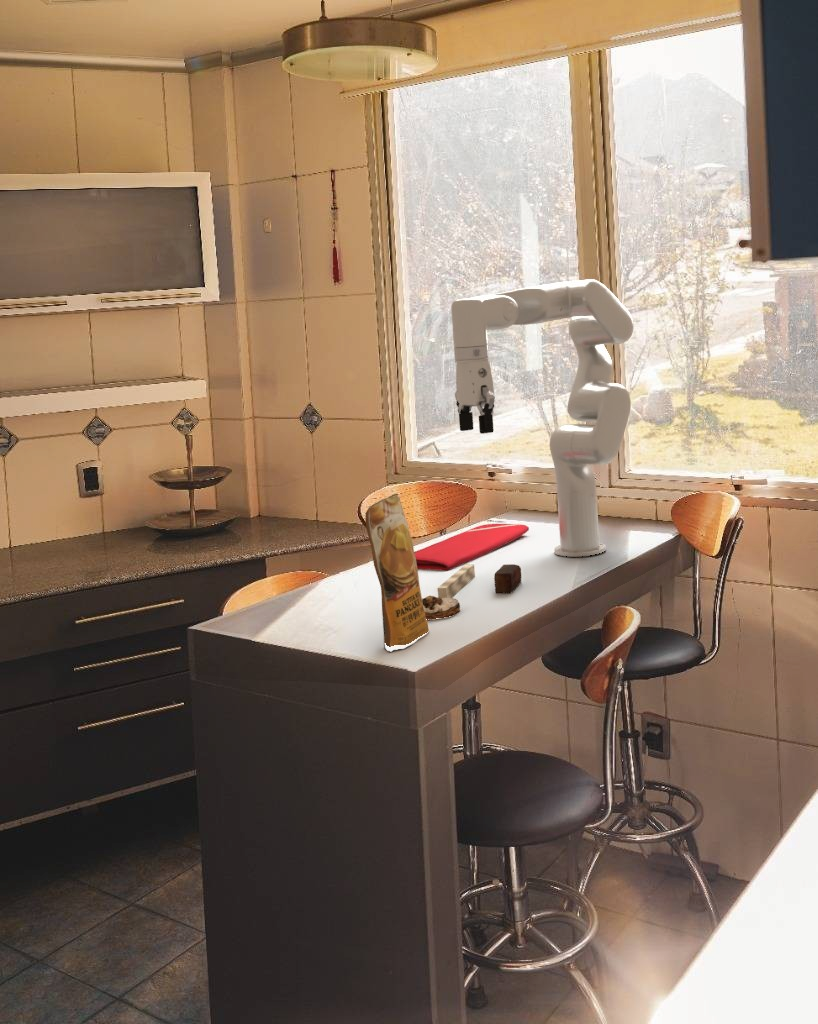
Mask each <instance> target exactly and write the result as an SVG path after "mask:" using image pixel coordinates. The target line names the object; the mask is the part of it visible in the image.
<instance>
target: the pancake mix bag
mask: <svg viewBox="0 0 818 1024" xmlns="http://www.w3.org/2000/svg"><path fill="white" fill-rule="evenodd" d="M364 520H365V528H366V532H367V536H368V539H369V544H370V549H371V554H372V561H373V566H374V569H375V572H376V576H377V580H378V582H379V585H380V591H381V592H380V594H381V614H382V615H381V617H382V628H383V644H384V643H386V645H387V646H389V647H391V646H394V645H406V644H409V643H411V642H412V641H414V640H415V639H417V638H418V637H420V636H422V635H423V634H425V633H427V632H428V631H429V632H430V630H429V624H428V621H427V620H426V616H425V611H424V607H423V603H422V591H421V590H422V589H421V588H420V579H419V578H420V577H419V571H418V570H419V569H417V564H416V557H415V553H414V552H415V549H414V544H413V543H414V542H413V540H412V534H411V530H410V527H409V525H408V522H407V519H406V516H405V513H404V509H403V506H402V502H401V500H400V496H399V494H398V493H393V494H392V495H389V496H388V497H386V498H384V499H380V500H379V501H376V502H375V503H373V504H372V505H371V506H369V507H367V510H366V512H365V519H364Z"/></svg>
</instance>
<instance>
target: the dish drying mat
mask: <svg viewBox="0 0 818 1024" xmlns="http://www.w3.org/2000/svg"><path fill="white" fill-rule="evenodd" d="M529 530H530V527H529V526H527V525H525V524H519V523H518V524H516V523H488V524H481V525H477V526H475V527H473V528H470V529H468V530H466V531H463V532H460V533H458V534H455V535H453V536H451V537H447V538H446V539H443V540H441V541H439V542H436V543H433V544H430V545H428V546H426V547H424V548H421V549H418V550H416V551H415V550H414V553H415V557H416V564H417V570H419V569H421V570H435V571H448V572H449V570H453V569H455V568H457V567H460V566H462V565H465V564H466V563H468V562H469V563H470V561H473V560H475V559H478V558H479V557H482V556H484V555H487V554H488V553H491V552H493V551H494V549H495V550H497V549H498V548H501V547H503V546H504V545H506V544H508V543H510V542H513V541H515V540H516V539H519V538H520V537H522V536H523V535H525V534H526V533H527V532H529ZM496 548H497V549H496ZM492 550H493V551H492ZM490 551H491V552H490ZM486 553H487V554H486Z"/></svg>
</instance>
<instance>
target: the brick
mask: <svg viewBox="0 0 818 1024" xmlns="http://www.w3.org/2000/svg"><path fill="white" fill-rule="evenodd" d="M493 576H494V578H493V579H494V591H495V594H512V593H513V592H514V591H515V590H516V589H517V588H518V586H519V585H520V584H521V582H522V568H521V567H520V565H518V564H511V563H510V564H509V563H508V564H502V565H501V567H500V568H499V569H498V570H496V571H495V573H494V575H493ZM516 587H517V588H516ZM513 590H514V591H513ZM511 592H512V593H511Z"/></svg>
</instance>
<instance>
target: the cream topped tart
mask: <svg viewBox="0 0 818 1024" xmlns="http://www.w3.org/2000/svg"><path fill="white" fill-rule="evenodd" d="M422 603H423V607H424V611H425V616H426V619H427V620H428V619H436V618H442V619H445V618H444V617H448V618H450V617H449V616H452V617H454V616H456V615H457V613H458V614H459V613H461V605H460V602H459V600H458V599H455V598H454V597H452V598H450V597H438V596H434V595H428V596H426V597H423V598H422ZM453 615H454V616H453ZM436 620H437V619H436ZM428 621H429V620H428Z"/></svg>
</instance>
